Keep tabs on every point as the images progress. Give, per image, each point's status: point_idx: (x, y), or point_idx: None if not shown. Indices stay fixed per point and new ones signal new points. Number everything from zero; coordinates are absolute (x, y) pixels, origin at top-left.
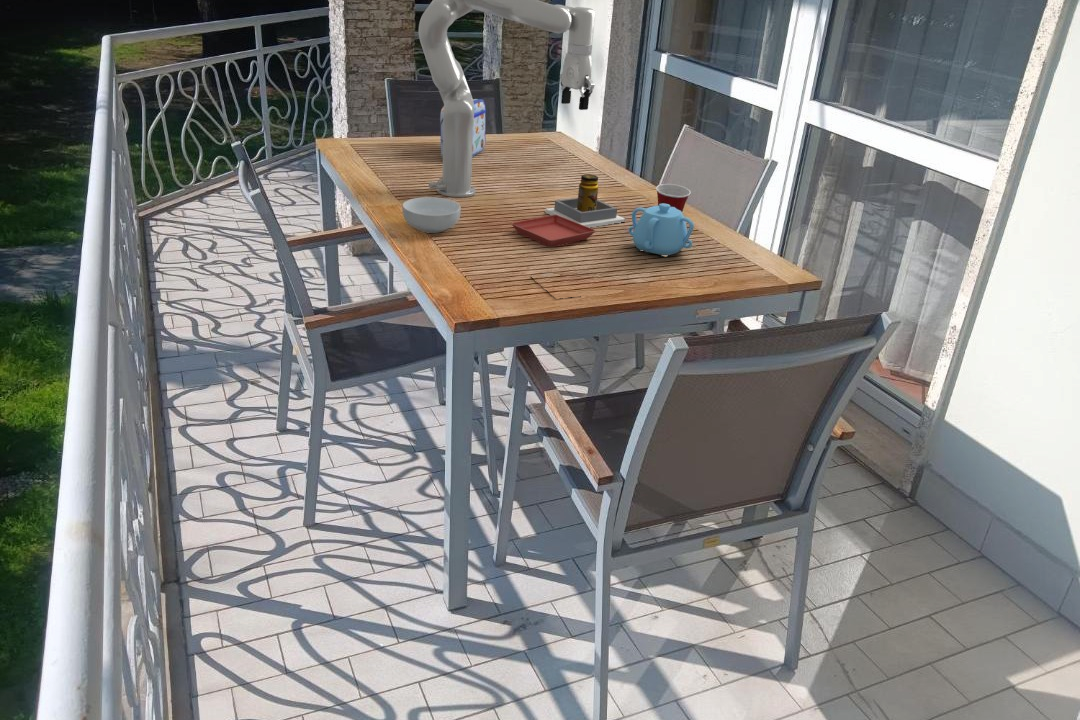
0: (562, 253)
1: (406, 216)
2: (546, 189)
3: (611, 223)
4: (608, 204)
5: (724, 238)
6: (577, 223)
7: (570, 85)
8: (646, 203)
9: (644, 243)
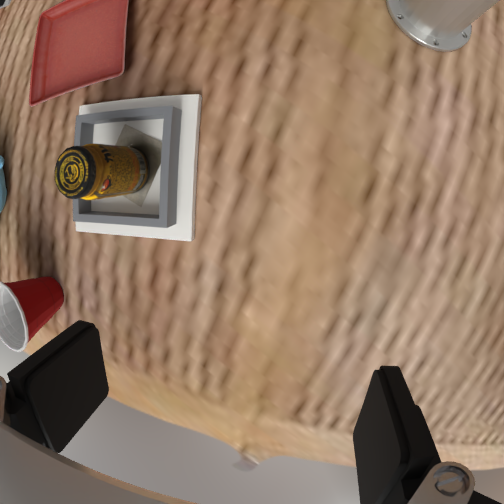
0: (34, 32)
1: None
2: (372, 235)
3: None
4: (99, 222)
5: None
6: (64, 91)
7: (70, 496)
8: (170, 371)
9: None
